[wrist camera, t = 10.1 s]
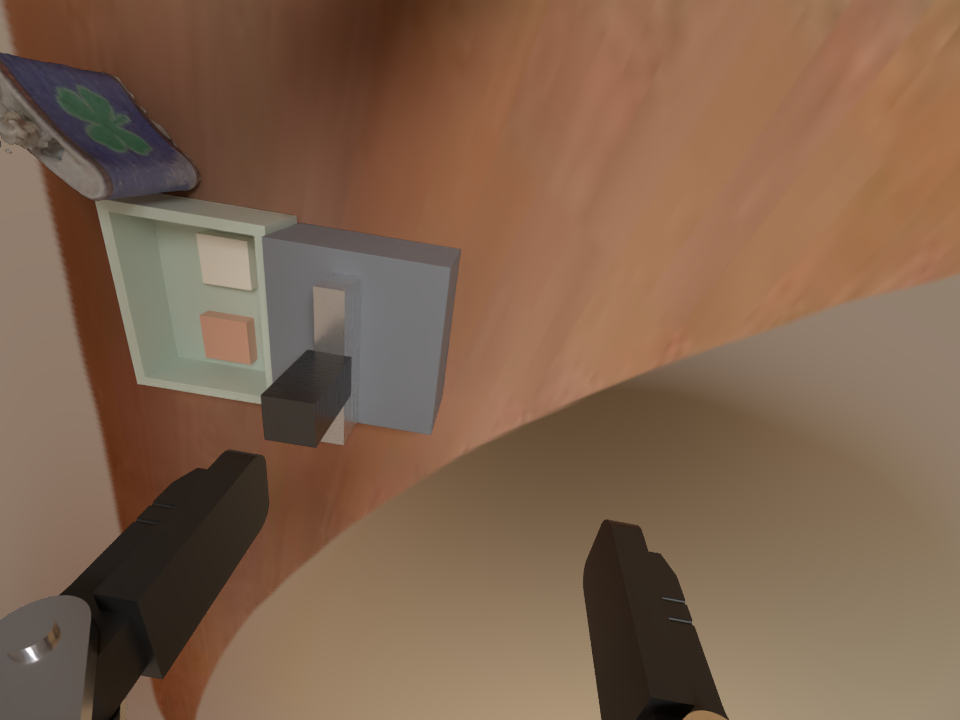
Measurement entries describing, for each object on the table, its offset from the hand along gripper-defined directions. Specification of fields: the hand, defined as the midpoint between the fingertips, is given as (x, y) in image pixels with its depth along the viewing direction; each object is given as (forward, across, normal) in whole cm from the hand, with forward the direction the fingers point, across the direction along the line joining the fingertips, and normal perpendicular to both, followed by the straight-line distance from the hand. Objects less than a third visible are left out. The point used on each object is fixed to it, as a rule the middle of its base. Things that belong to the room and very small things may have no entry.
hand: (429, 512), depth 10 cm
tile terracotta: (+25, +21, +12) cm, 35 cm away
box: (+27, +22, +8) cm, 36 cm away
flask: (+28, +27, -4) cm, 39 cm away
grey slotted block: (+27, +9, +8) cm, 30 cm away
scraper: (+21, +9, +8) cm, 25 cm away
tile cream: (+25, +21, +5) cm, 33 cm away
